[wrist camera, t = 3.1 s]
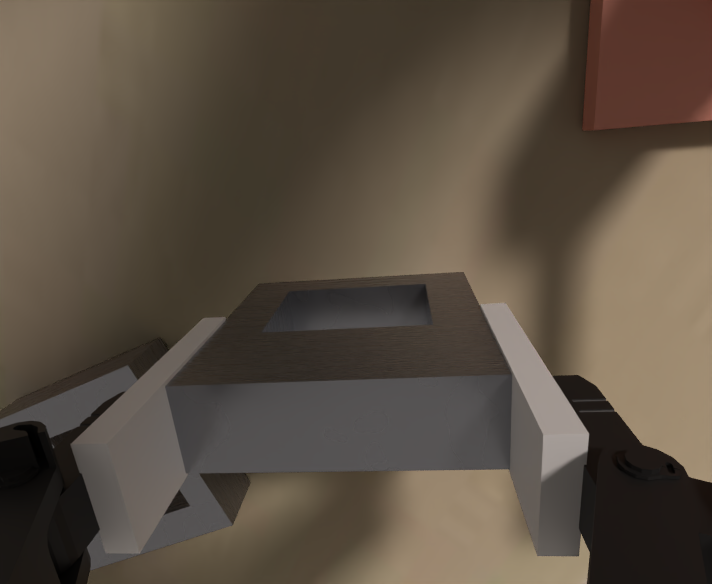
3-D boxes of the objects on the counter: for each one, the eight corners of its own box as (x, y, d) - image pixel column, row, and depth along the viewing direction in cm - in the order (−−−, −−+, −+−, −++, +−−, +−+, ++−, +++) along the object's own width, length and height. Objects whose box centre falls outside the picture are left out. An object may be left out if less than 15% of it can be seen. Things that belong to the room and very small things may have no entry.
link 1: (17, 399, 21) (-31, 432, 19) (160, 337, 20) (127, 365, 17) (113, 528, 23) (82, 572, 21) (250, 482, 22) (232, 525, 19)
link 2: (258, 283, 19) (164, 386, 11) (463, 271, 18) (512, 374, 10) (267, 341, 19) (185, 473, 12) (464, 332, 19) (510, 469, 11)
